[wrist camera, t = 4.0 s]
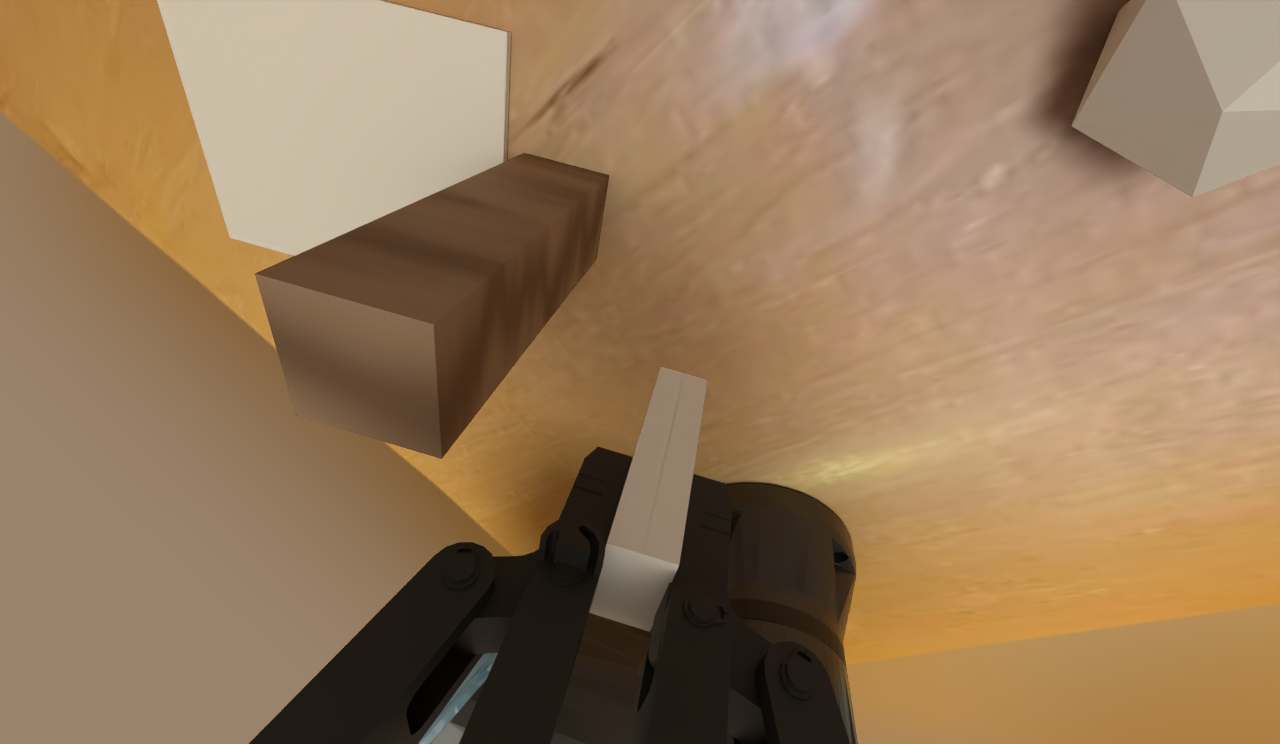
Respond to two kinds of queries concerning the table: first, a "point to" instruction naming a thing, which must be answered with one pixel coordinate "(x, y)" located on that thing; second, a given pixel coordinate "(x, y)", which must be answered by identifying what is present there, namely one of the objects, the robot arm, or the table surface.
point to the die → (1189, 90)
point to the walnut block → (432, 301)
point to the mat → (336, 109)
